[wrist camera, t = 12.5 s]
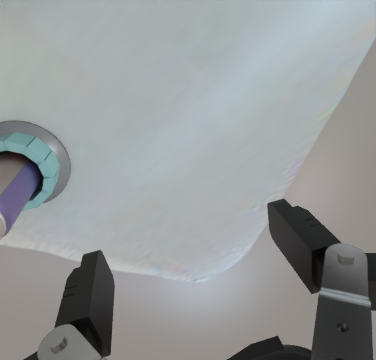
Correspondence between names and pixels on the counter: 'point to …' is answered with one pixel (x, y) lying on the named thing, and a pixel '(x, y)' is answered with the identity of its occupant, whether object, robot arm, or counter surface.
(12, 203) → the beverage can
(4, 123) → the holder
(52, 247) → the counter surface
